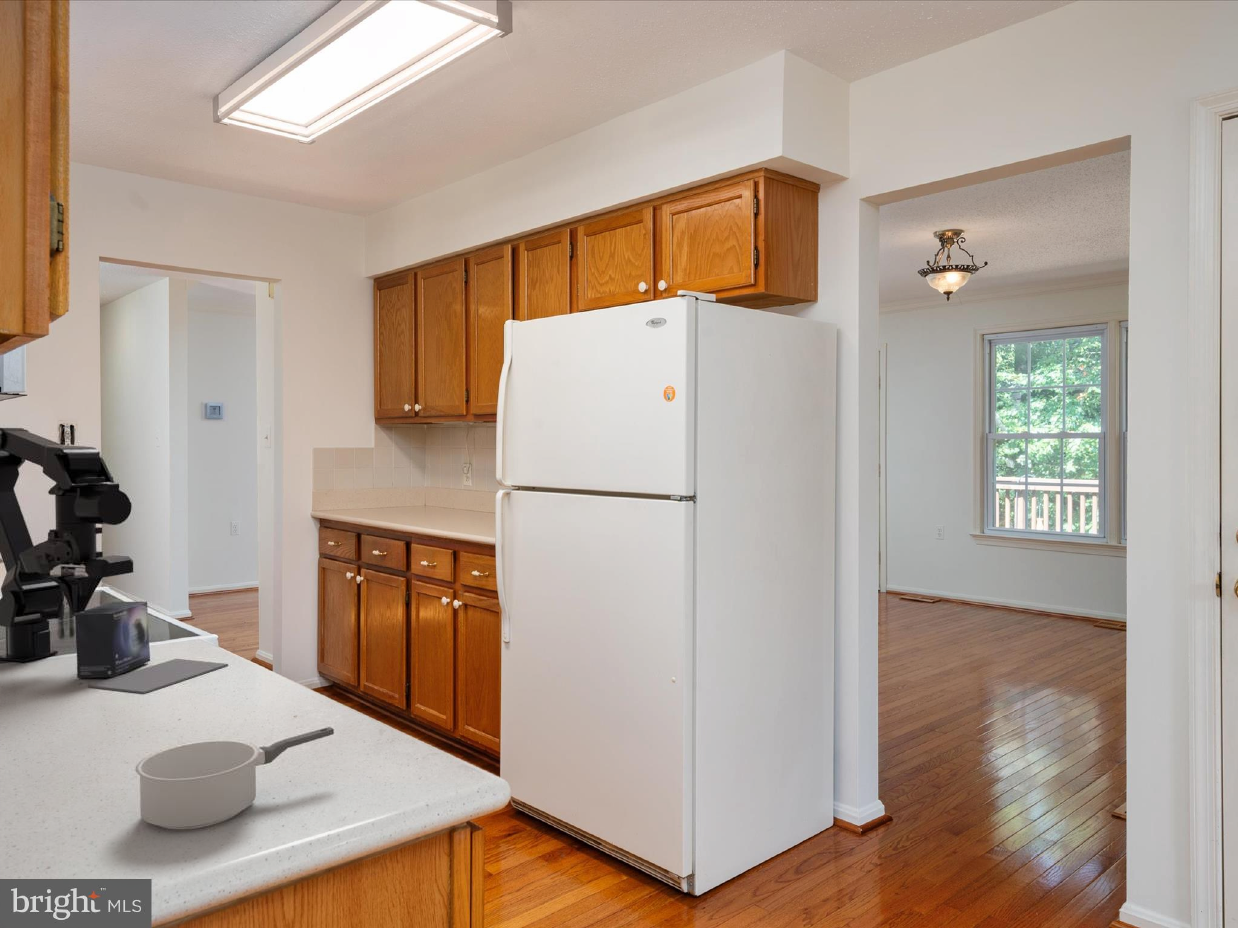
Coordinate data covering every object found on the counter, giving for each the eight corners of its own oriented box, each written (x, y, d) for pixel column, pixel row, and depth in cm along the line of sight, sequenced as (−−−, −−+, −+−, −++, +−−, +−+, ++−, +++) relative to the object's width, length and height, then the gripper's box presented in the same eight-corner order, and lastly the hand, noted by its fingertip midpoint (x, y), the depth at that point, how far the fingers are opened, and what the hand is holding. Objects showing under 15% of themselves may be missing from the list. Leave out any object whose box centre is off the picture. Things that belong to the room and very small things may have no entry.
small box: (116, 677, 138) (111, 611, 138) (75, 679, 138) (71, 613, 138) (153, 660, 149) (149, 599, 148) (115, 662, 149) (111, 601, 149)
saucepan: (355, 791, 95) (355, 740, 95) (154, 849, 82) (154, 790, 82) (310, 762, 104) (310, 715, 104) (122, 810, 90) (121, 756, 90)
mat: (88, 686, 134) (88, 685, 134) (176, 660, 150) (176, 658, 150) (144, 693, 131) (144, 691, 131) (228, 665, 147) (228, 663, 147)
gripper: (-14, 525, 141) (-12, 621, 141) (74, 529, 135) (76, 629, 135) (51, 519, 151) (52, 608, 152) (135, 522, 145) (136, 615, 146)
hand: (77, 615), depth 146 cm, fingers closed
